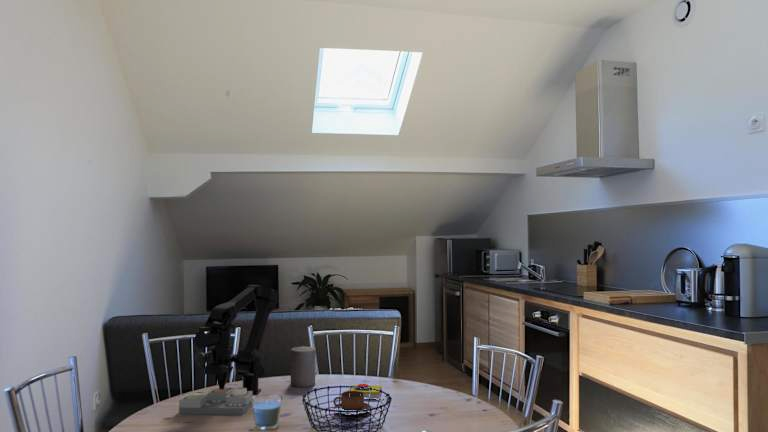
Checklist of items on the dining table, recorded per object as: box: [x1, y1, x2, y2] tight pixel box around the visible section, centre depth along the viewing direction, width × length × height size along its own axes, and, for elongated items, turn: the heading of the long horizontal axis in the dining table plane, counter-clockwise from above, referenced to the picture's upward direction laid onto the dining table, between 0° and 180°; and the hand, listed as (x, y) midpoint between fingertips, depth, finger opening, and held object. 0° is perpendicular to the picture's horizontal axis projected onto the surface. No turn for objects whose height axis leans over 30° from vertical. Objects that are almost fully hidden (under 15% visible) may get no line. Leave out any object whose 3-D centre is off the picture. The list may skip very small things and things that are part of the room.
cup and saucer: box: [332, 390, 372, 415], centre depth 180 cm, size 12×12×6 cm
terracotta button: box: [213, 387, 230, 393], centre depth 190 cm, size 5×5×2 cm
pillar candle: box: [289, 346, 316, 388], centre depth 216 cm, size 10×10×15 cm
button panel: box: [178, 387, 257, 416], centre depth 186 cm, size 15×21×4 cm
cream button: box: [232, 386, 247, 396], centre depth 186 cm, size 5×5×2 cm
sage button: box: [186, 392, 203, 399], centre depth 183 cm, size 5×5×2 cm
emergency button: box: [347, 383, 383, 399], centre depth 199 cm, size 9×4×15 cm
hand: (221, 389), depth 190 cm, fingers closed, pressing on terracotta button
